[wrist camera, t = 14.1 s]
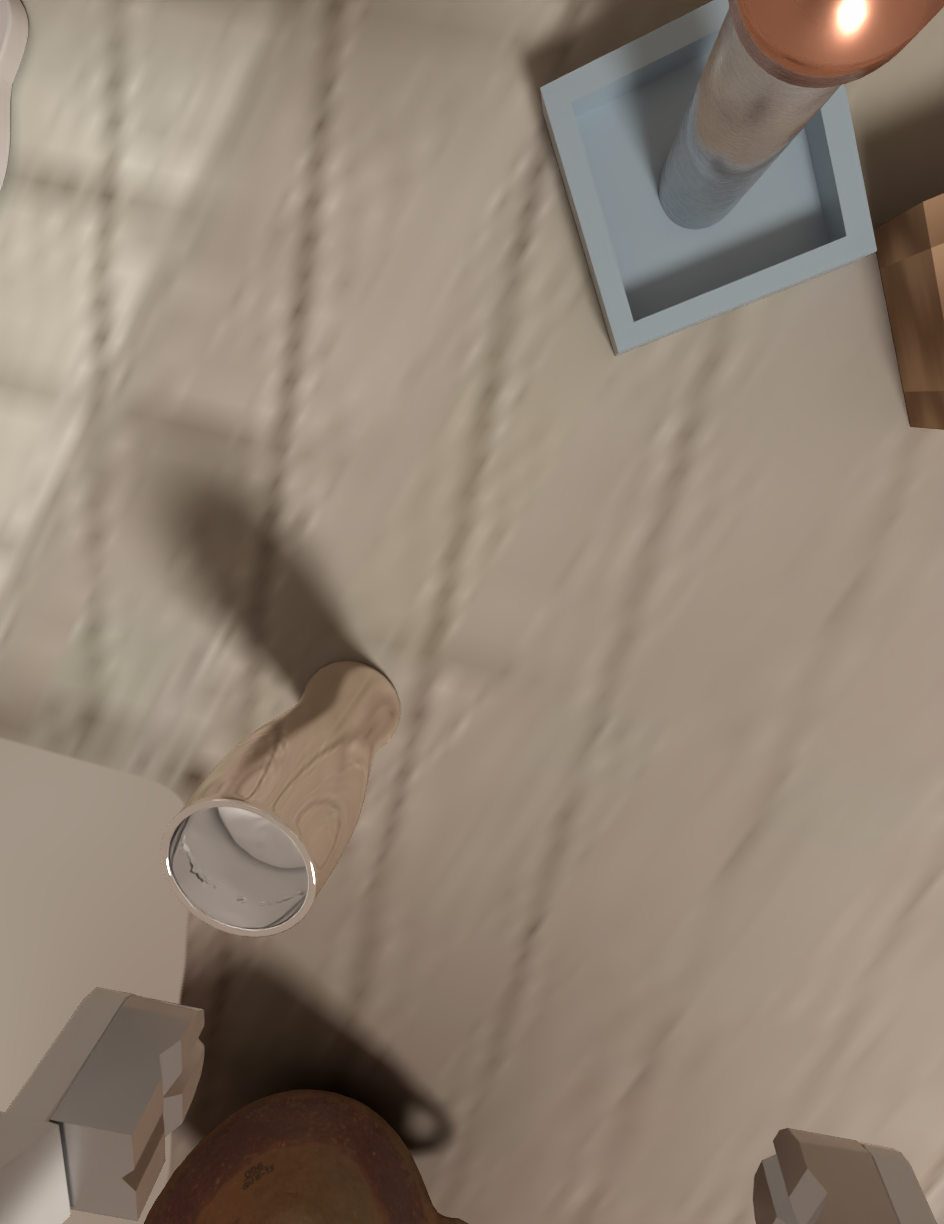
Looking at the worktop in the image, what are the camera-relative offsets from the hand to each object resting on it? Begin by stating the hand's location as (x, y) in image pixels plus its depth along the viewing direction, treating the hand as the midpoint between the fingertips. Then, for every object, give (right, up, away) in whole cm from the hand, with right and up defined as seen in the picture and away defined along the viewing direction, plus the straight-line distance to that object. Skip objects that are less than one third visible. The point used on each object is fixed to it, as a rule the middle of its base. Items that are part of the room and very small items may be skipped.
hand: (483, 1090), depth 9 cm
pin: (+10, +26, +20) cm, 34 cm away
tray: (+10, +26, +21) cm, 35 cm away
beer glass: (-7, +1, +31) cm, 32 cm away
